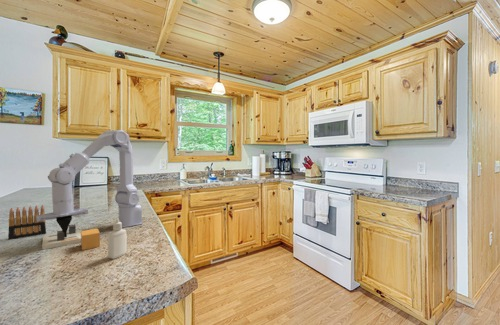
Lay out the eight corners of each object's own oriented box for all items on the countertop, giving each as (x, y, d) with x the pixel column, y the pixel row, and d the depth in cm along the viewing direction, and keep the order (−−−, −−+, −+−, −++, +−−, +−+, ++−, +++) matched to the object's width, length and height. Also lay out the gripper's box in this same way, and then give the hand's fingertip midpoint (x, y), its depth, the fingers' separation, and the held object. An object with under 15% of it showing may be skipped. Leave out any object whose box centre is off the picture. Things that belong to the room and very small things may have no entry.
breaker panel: (79, 232, 94) (79, 229, 94) (82, 242, 84) (82, 237, 84) (44, 238, 87) (43, 234, 87) (42, 249, 77) (42, 245, 77)
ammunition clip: (8, 239, 86) (7, 208, 86) (9, 238, 87) (8, 207, 87) (45, 234, 93) (45, 205, 92) (46, 232, 94) (45, 204, 94)
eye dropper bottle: (129, 254, 74) (129, 218, 74) (109, 260, 70) (109, 222, 70) (125, 250, 77) (124, 216, 77) (106, 255, 73) (105, 219, 73)
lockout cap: (97, 241, 85) (97, 228, 85) (99, 246, 80) (99, 232, 80) (81, 244, 82) (80, 231, 82) (82, 250, 77) (82, 235, 77)
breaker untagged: (75, 230, 92) (75, 224, 92) (75, 232, 90) (75, 226, 90) (68, 231, 91) (68, 225, 91) (69, 233, 88) (69, 227, 88)
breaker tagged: (64, 237, 85) (64, 230, 85) (64, 239, 82) (64, 232, 82) (57, 238, 83) (57, 231, 83) (57, 240, 81) (57, 233, 81)
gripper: (34, 205, 75) (37, 245, 76) (88, 199, 85) (89, 234, 85) (36, 201, 81) (38, 239, 81) (86, 196, 90) (87, 229, 91)
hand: (64, 236), depth 84 cm, fingers closed, pressing on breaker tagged
